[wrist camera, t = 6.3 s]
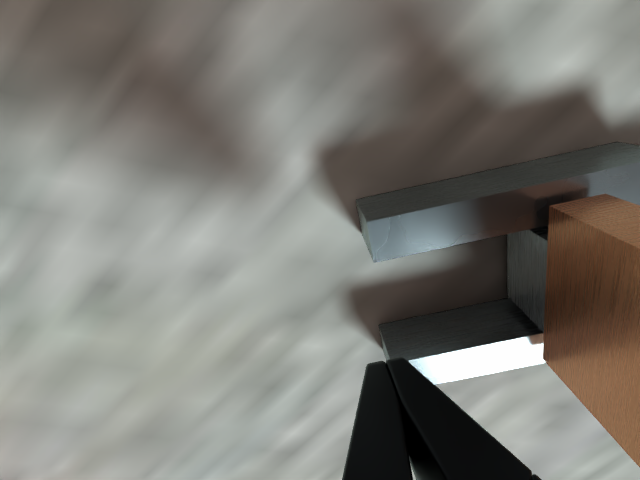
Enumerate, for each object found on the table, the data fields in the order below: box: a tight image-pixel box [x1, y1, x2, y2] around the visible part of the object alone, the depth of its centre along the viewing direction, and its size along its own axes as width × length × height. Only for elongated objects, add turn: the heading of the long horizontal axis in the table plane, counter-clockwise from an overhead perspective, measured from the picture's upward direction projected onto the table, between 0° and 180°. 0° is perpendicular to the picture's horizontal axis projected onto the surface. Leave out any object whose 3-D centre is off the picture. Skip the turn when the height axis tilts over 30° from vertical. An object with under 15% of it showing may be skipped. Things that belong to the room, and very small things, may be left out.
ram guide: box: [356, 142, 640, 385], centre depth 11 cm, size 8×6×2 cm
